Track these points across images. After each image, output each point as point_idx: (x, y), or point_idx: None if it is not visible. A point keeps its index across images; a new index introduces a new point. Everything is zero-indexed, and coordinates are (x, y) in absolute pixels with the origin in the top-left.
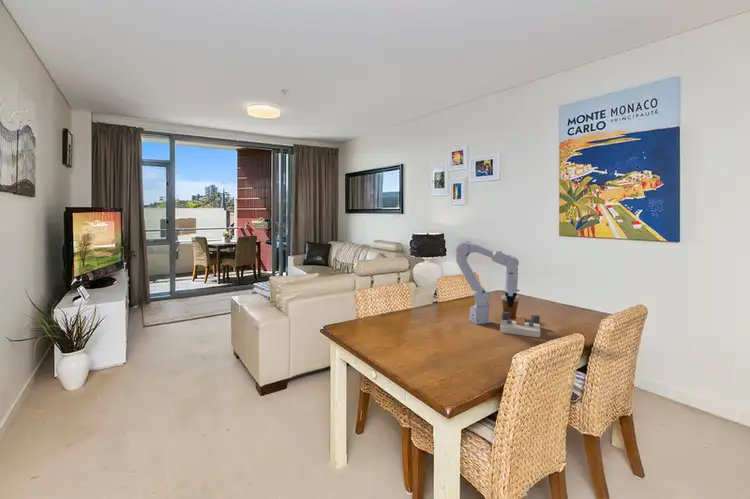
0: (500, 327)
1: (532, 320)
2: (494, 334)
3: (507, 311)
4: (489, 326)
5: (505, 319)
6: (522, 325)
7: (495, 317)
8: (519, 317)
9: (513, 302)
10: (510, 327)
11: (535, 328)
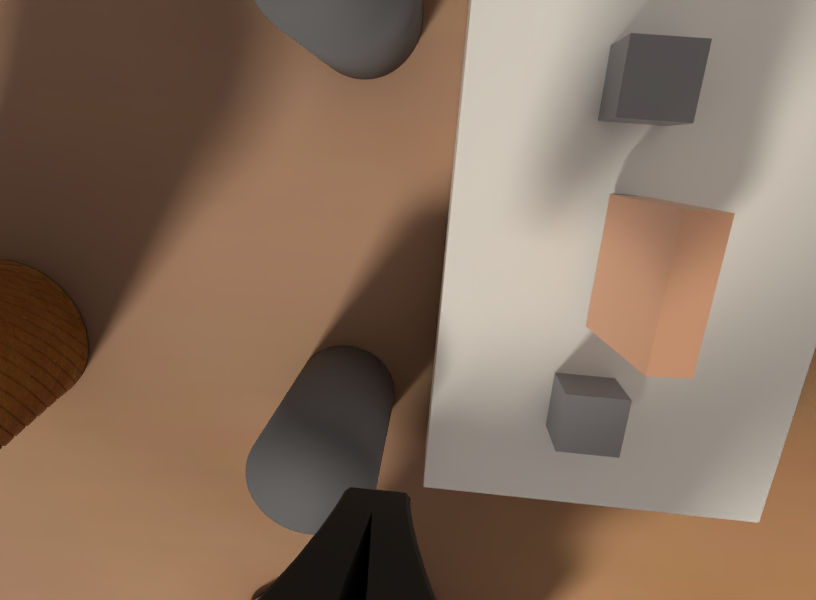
0: (752, 508)
1: (397, 36)
2: (801, 525)
3: (25, 406)
4: (513, 559)
5: (385, 437)
6: None
7: (125, 486)
8: (699, 313)
9: (428, 584)
10: (788, 401)
11: (783, 19)
